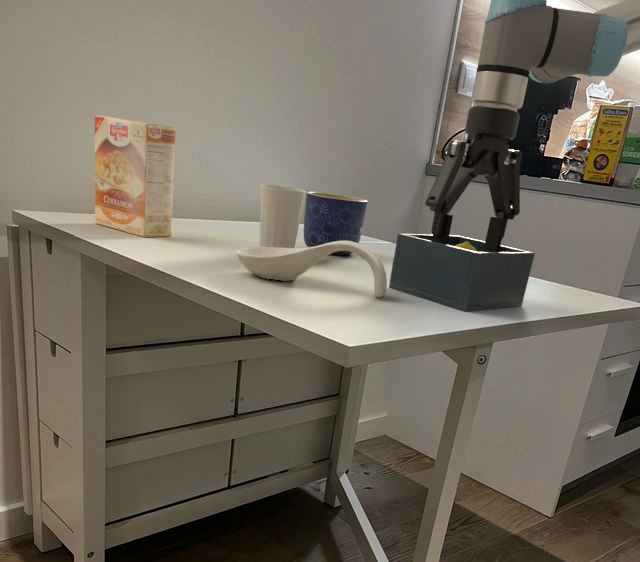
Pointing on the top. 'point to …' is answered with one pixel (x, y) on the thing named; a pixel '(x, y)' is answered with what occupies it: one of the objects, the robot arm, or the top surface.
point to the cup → (280, 215)
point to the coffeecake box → (134, 176)
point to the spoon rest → (306, 261)
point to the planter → (333, 219)
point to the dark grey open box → (460, 272)
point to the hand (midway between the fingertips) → (463, 258)
